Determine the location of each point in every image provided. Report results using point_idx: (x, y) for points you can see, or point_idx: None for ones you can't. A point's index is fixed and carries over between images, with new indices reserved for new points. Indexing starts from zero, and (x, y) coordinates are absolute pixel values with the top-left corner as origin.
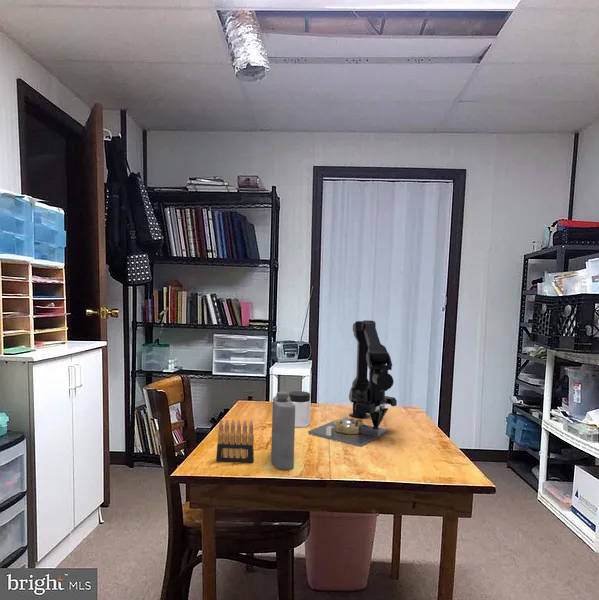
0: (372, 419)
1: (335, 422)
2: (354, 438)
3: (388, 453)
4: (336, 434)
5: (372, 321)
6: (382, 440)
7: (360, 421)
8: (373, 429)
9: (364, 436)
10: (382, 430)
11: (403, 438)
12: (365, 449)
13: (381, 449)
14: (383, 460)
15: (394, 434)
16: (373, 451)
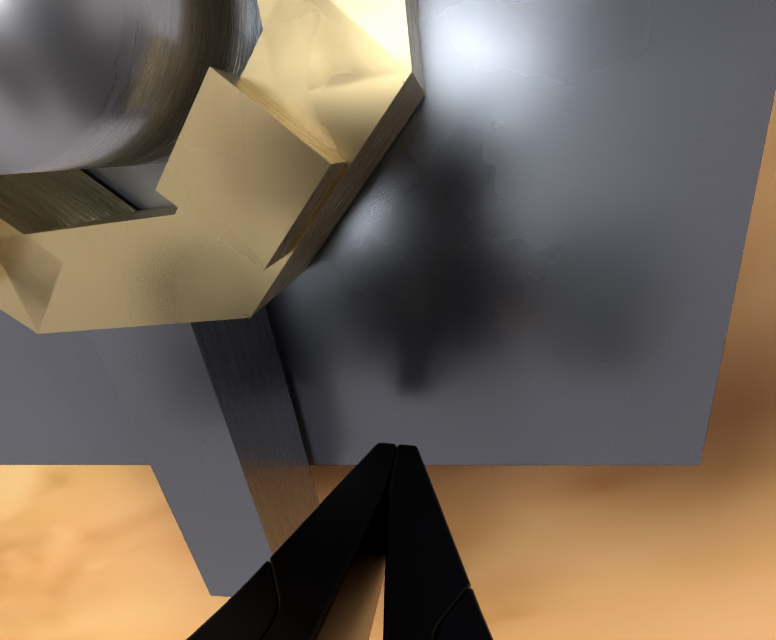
0: (272, 580)
1: None
2: (2, 341)
3: (119, 615)
4: None
5: None
6: (320, 503)
7: (218, 225)
8: (192, 535)
9: None
10: (585, 434)
11: (543, 611)
12: (15, 490)
13: (131, 566)
14: (13, 623)
15: (630, 520)
16: (48, 543)
